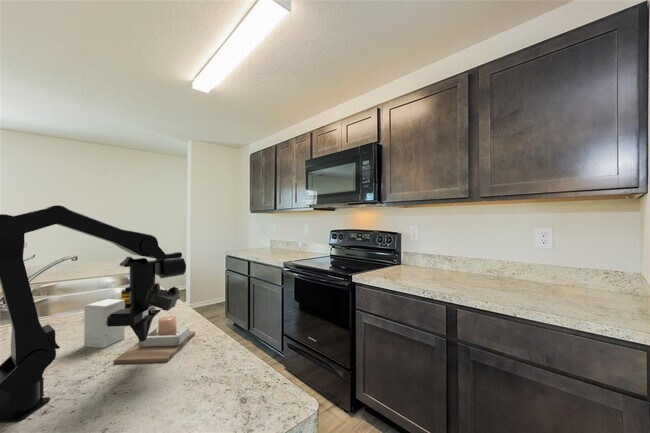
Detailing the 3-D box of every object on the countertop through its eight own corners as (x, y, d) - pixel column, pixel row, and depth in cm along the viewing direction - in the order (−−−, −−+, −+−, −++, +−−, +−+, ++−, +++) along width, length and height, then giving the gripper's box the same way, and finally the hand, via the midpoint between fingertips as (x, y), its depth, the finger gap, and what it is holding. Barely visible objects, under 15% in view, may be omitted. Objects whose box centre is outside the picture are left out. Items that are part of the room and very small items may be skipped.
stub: (171, 340, 86) (171, 321, 86) (154, 341, 86) (154, 321, 86) (179, 334, 91) (179, 315, 91) (163, 334, 91) (163, 316, 91)
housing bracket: (178, 345, 82) (178, 336, 82) (138, 346, 82) (138, 338, 82) (189, 335, 89) (189, 327, 89) (152, 336, 89) (152, 328, 89)
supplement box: (103, 348, 83) (103, 306, 84) (83, 346, 85) (83, 305, 85) (125, 338, 91) (125, 299, 91) (106, 336, 92) (106, 298, 92)
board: (167, 361, 75) (167, 357, 75) (113, 363, 74) (113, 359, 74) (195, 334, 93) (195, 331, 93) (151, 335, 92) (151, 332, 92)
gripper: (154, 289, 65) (154, 356, 65) (189, 274, 84) (189, 326, 84) (104, 290, 65) (105, 358, 65) (150, 274, 83) (151, 327, 83)
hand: (143, 340), depth 74 cm, fingers closed
